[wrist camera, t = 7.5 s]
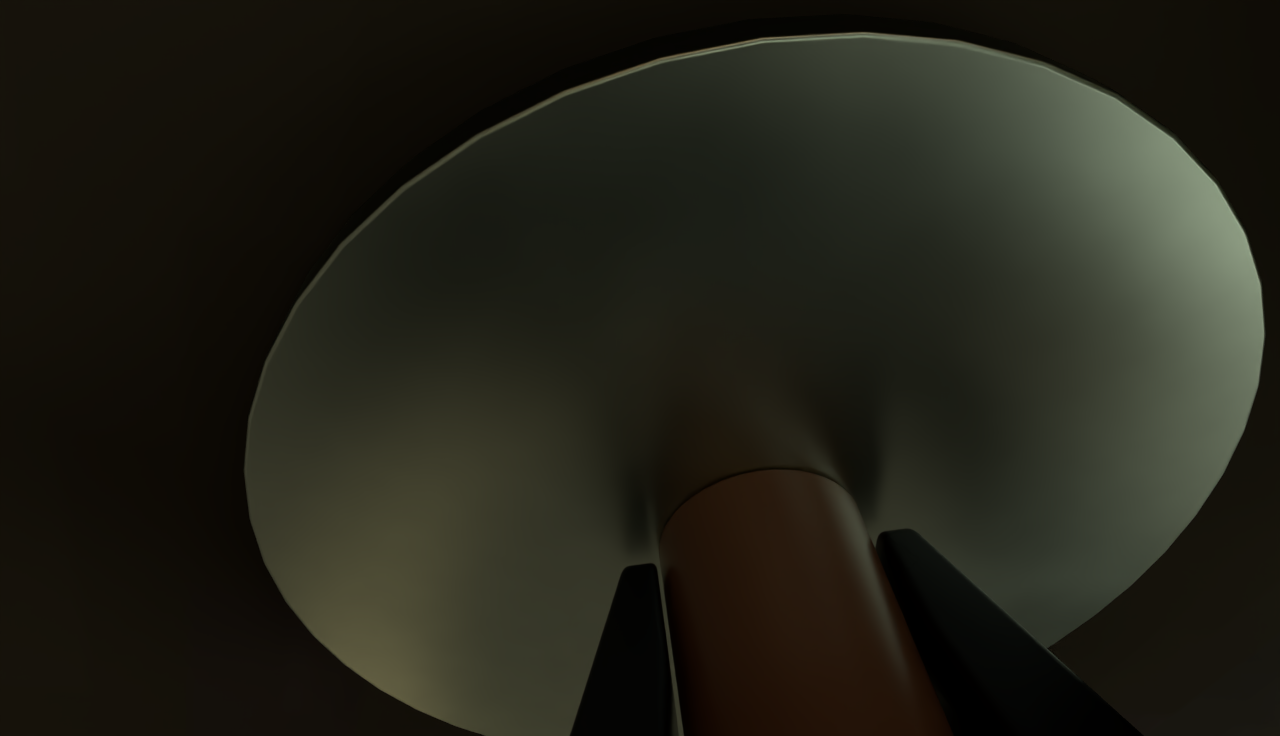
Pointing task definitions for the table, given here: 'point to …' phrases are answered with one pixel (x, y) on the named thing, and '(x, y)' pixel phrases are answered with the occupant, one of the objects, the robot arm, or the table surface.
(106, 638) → the table surface
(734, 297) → the tin lid
